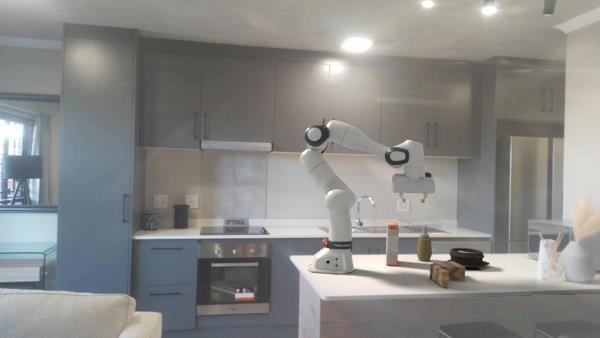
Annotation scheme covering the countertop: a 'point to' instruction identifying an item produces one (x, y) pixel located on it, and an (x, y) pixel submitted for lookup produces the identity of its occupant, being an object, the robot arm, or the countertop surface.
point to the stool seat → (451, 270)
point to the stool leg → (440, 275)
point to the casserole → (468, 257)
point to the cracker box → (392, 243)
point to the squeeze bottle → (424, 246)
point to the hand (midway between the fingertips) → (413, 202)
